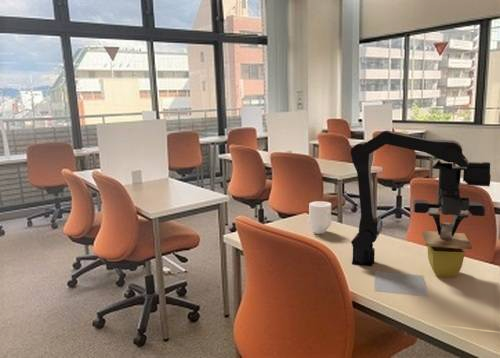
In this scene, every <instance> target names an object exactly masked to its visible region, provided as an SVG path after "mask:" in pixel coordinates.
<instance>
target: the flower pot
mask: <svg viewBox="0 0 500 358" xmlns="http://www.w3.org/2000/svg"><path fill="white" fill-rule="evenodd" d="M426 248H427V258H428V262H429V265H430V268H431V269H432V271H433V273H434V276H436V277H438V278H439V277H440V278H441V277H442V278H455V277H456V276H457V275H458V274H459V273H460V272H461V270H462V266H463V262H464V259H465V253H466V252H465V250H464V249H459V248H445V247H432V246H426Z"/></svg>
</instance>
